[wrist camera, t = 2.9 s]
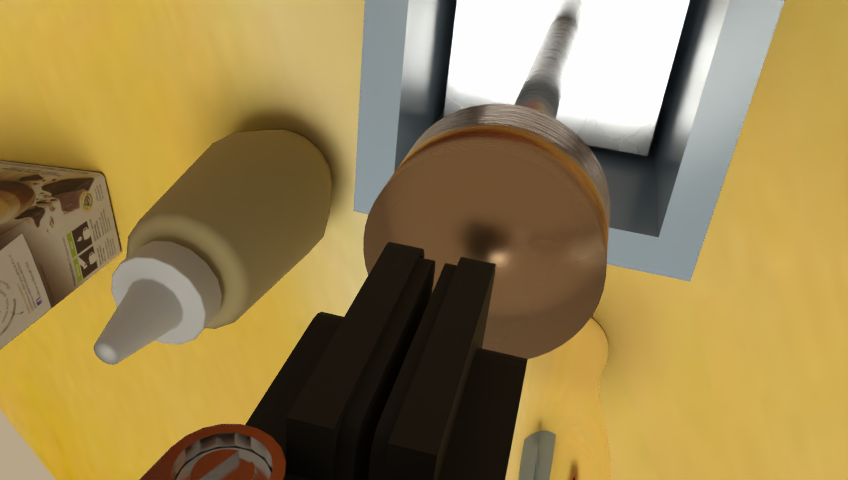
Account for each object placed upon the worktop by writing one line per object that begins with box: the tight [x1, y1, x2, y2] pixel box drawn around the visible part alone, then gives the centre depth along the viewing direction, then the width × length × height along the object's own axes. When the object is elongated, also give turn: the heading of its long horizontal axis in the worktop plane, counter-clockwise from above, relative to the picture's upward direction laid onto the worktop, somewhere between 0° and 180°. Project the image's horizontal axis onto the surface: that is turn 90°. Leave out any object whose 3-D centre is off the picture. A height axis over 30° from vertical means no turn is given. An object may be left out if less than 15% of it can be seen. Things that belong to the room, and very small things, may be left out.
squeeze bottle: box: [94, 130, 332, 365], centre depth 37 cm, size 8×8×18 cm
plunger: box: [364, 0, 690, 359], centre depth 21 cm, size 8×8×18 cm
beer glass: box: [505, 318, 611, 480], centre depth 39 cm, size 7×7×15 cm
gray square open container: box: [354, 0, 785, 281], centre depth 30 cm, size 12×15×15 cm
